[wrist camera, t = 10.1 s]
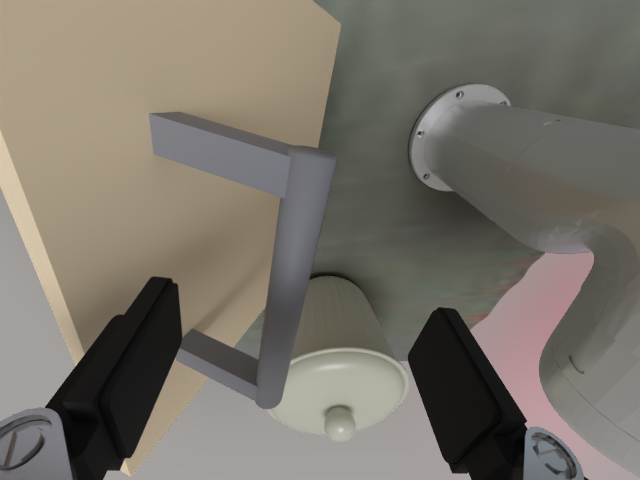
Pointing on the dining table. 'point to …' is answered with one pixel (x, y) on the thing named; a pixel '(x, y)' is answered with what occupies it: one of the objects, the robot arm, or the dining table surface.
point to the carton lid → (171, 172)
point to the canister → (339, 365)
